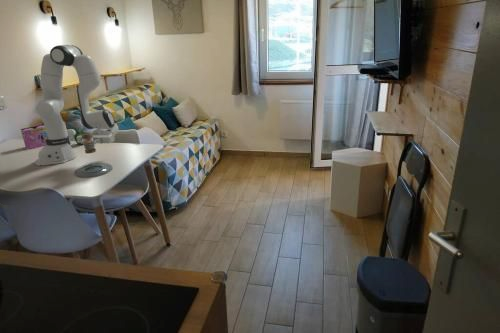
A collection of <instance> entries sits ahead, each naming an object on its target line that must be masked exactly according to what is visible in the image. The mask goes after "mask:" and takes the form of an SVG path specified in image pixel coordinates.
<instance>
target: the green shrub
mask: <svg viewBox="0 0 500 333" xmlns="http://www.w3.org/2000/svg"><path fill="white" fill-rule="evenodd" d="M82 134H86V132H82V131H81V129H78V132H76V133H75V134H74V135H73V139H74V141H75V142H76V145H79V146H82V145H83V144H81V143H78V142H77V139H76V137H77V136H79V135H82Z"/></svg>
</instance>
